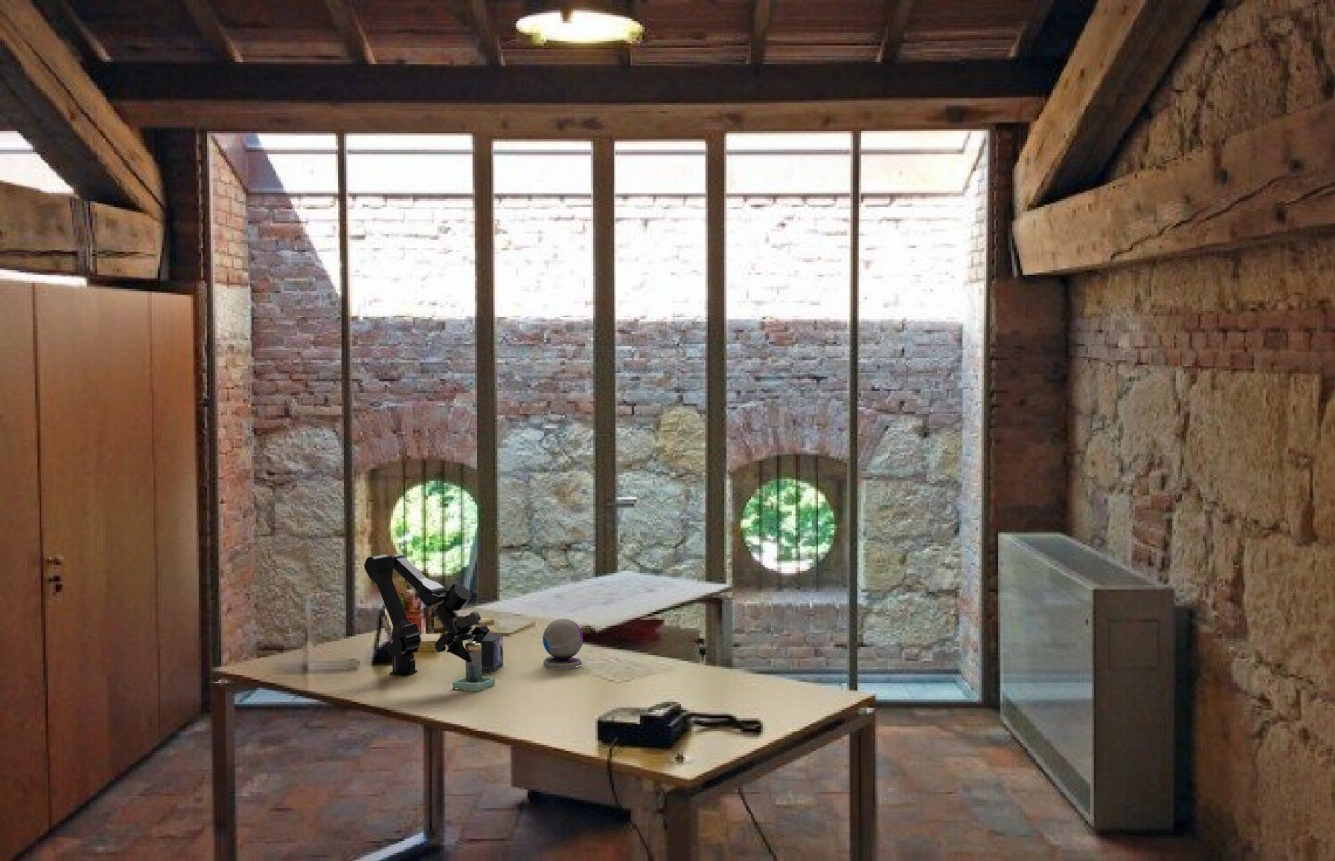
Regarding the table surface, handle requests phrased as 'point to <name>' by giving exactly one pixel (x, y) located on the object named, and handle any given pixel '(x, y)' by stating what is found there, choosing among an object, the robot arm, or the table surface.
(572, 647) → the webcam
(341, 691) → the table surface
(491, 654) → the small box
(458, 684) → the tray
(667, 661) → the table surface
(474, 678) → the lidded jar
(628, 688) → the table surface
